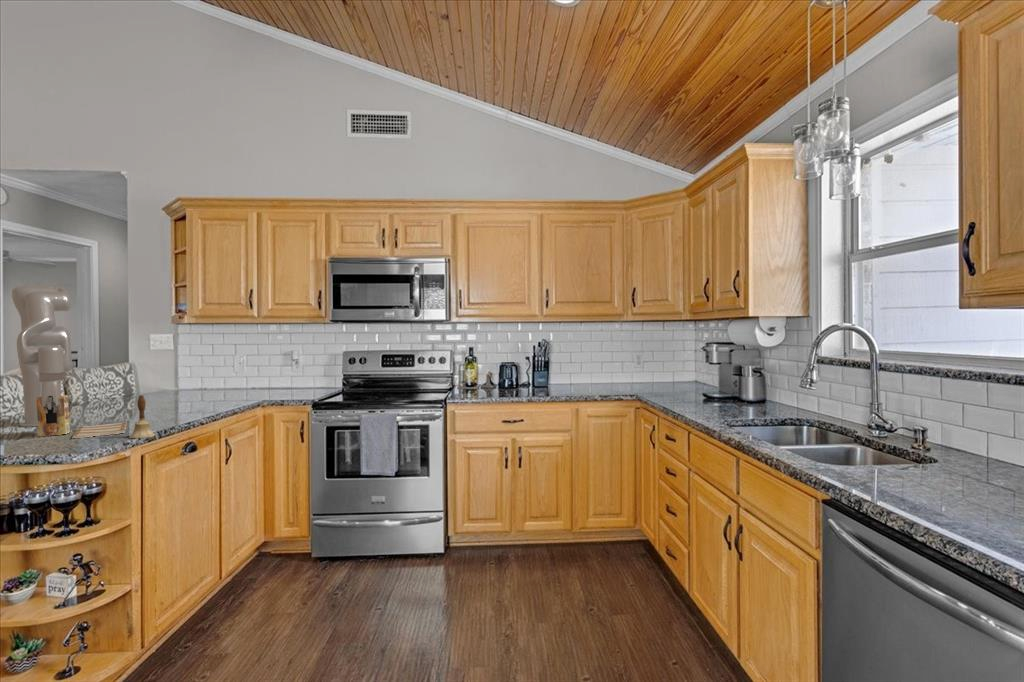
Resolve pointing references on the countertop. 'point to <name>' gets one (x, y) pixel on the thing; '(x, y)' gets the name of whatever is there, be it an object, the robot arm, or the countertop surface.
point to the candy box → (62, 418)
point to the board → (100, 430)
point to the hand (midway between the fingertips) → (53, 421)
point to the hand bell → (142, 422)
